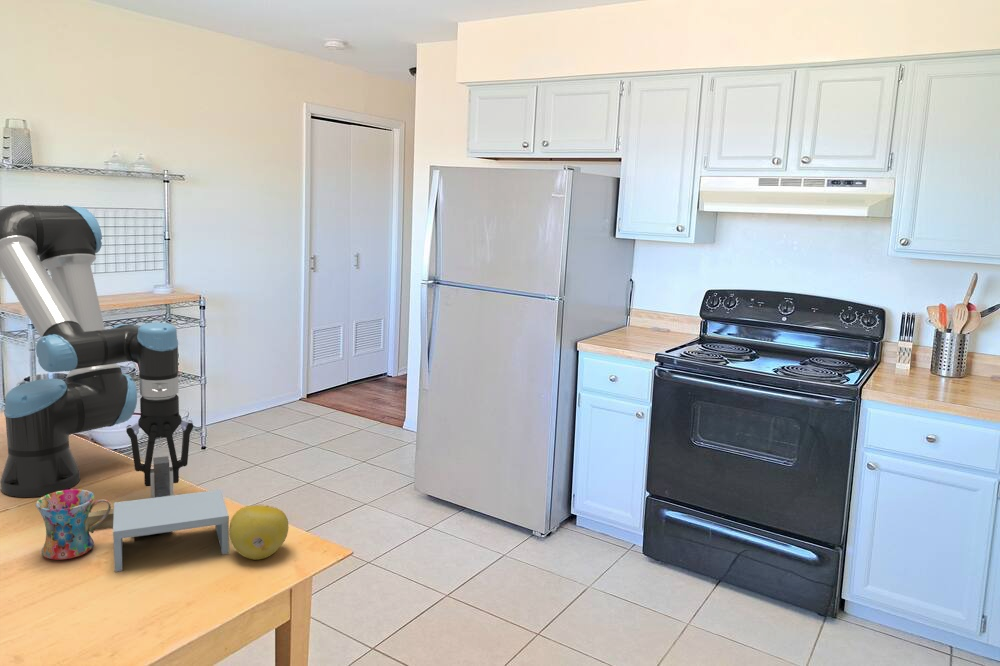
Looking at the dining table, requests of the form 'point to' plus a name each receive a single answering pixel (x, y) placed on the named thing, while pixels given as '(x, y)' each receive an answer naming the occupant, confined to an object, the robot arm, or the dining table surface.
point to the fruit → (258, 530)
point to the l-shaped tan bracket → (97, 515)
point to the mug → (68, 522)
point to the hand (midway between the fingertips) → (162, 497)
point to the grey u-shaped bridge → (169, 518)
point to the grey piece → (161, 478)
